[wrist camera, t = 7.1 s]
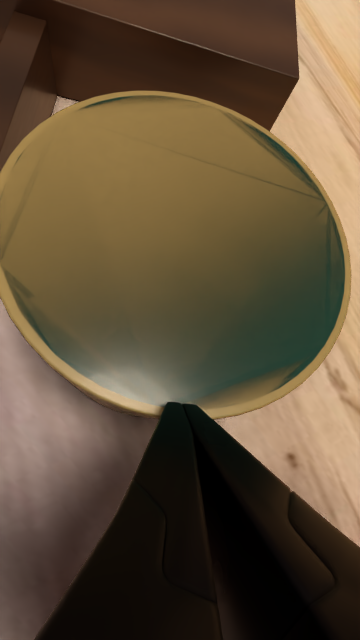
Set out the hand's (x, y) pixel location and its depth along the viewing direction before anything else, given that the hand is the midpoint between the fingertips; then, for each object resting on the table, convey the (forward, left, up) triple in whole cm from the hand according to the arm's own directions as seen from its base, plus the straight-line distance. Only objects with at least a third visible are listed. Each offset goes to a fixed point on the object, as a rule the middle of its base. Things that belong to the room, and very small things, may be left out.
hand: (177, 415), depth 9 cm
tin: (+6, +2, -7) cm, 9 cm away
